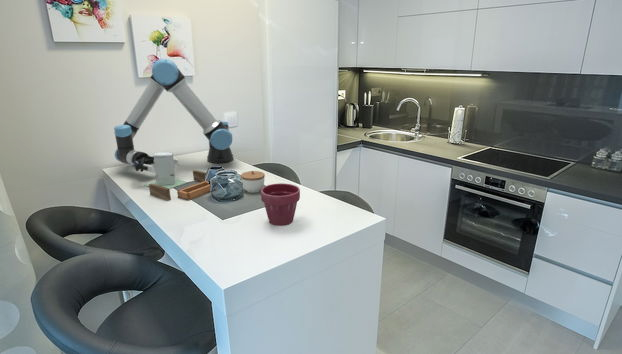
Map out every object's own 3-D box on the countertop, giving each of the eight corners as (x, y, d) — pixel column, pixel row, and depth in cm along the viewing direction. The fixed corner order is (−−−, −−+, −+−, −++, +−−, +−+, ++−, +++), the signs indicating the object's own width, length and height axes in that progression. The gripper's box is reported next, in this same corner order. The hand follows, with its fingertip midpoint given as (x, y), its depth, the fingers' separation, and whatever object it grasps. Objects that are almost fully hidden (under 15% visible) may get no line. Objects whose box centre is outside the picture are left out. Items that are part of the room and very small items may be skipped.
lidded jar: (263, 194, 156) (262, 174, 153) (239, 194, 157) (238, 174, 154) (266, 186, 167) (266, 167, 164) (244, 186, 167) (243, 167, 164)
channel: (196, 179, 175) (195, 169, 174) (212, 183, 169) (212, 174, 168) (150, 194, 155) (148, 184, 153) (167, 200, 149) (166, 189, 147)
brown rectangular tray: (206, 186, 165) (205, 180, 164) (215, 189, 162) (215, 183, 161) (177, 197, 152) (177, 190, 151) (187, 200, 149) (187, 194, 148)
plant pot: (280, 210, 141) (280, 180, 137) (307, 219, 132) (307, 188, 128) (254, 221, 130) (252, 189, 126) (281, 233, 122) (280, 199, 118)
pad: (169, 177, 177) (169, 176, 177) (188, 182, 170) (188, 182, 170) (144, 185, 166) (144, 184, 166) (163, 191, 159) (163, 190, 159)
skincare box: (156, 186, 164) (152, 155, 159) (158, 182, 169) (154, 152, 165) (175, 184, 166) (172, 154, 162) (176, 180, 172) (172, 151, 167)
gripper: (161, 160, 186) (188, 167, 175) (115, 172, 166) (142, 180, 155) (159, 146, 183) (186, 152, 173) (112, 157, 163) (140, 164, 153)
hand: (165, 165), depth 164 cm, fingers open, 13 cm apart
